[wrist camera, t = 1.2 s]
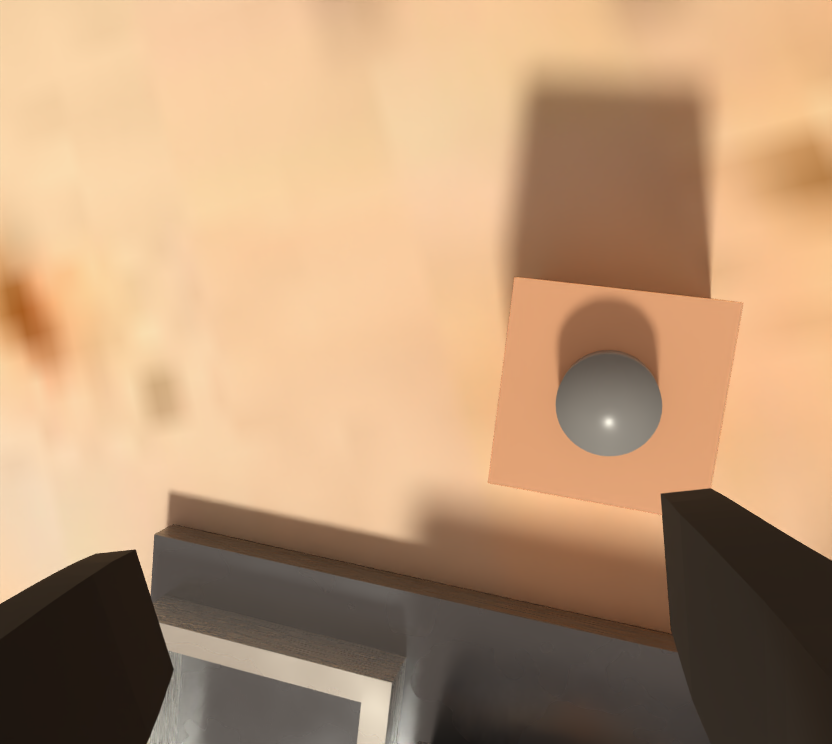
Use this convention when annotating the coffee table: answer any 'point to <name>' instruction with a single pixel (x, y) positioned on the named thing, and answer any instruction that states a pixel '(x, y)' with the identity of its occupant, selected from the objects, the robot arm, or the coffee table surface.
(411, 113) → the coffee table surface
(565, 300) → the cube with grey knob
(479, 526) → the coffee table surface
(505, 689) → the motor mount
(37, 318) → the coffee table surface
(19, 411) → the coffee table surface
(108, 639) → the robot arm
